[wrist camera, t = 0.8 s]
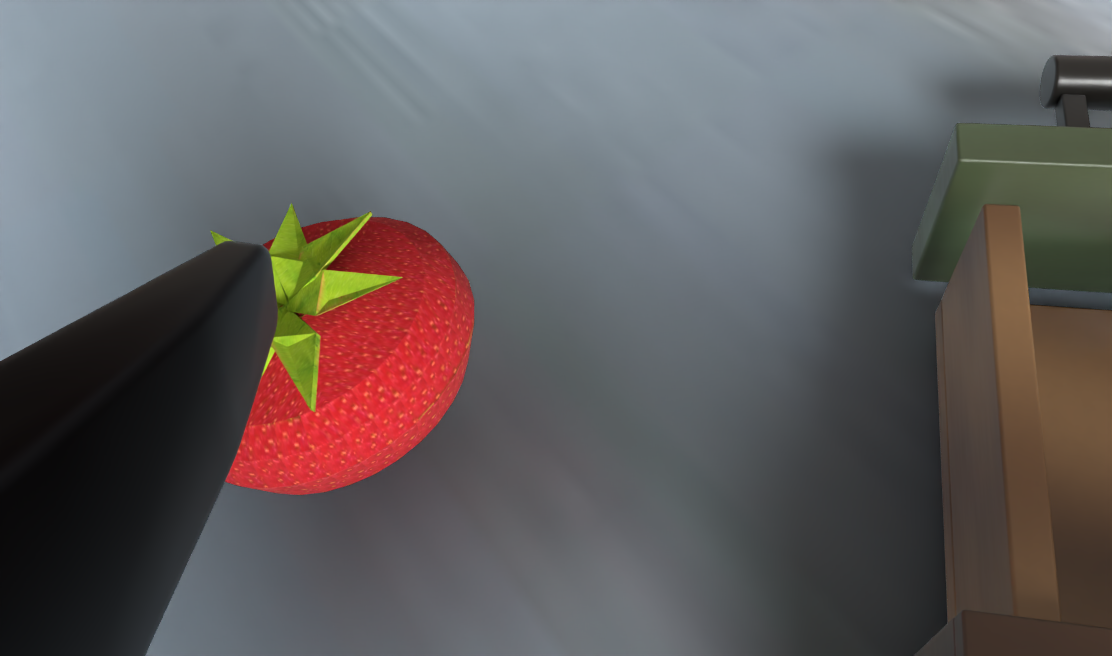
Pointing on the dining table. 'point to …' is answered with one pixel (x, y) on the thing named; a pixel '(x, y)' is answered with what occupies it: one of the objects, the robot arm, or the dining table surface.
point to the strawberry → (353, 353)
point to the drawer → (1026, 355)
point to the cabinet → (1016, 637)
